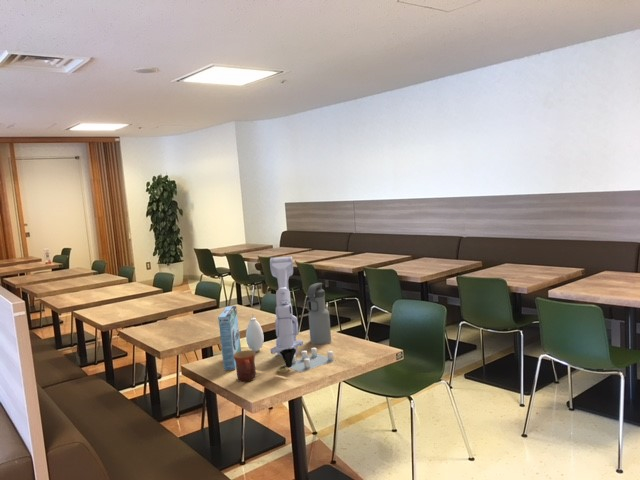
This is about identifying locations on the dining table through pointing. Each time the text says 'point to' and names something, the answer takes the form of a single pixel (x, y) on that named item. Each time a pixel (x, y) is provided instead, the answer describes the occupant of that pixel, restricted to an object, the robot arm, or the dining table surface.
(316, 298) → the water bottle
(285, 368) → the nut
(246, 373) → the mug
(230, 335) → the blue cereal box
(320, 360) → the plate
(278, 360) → the dining table surface
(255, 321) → the sauce bottle
